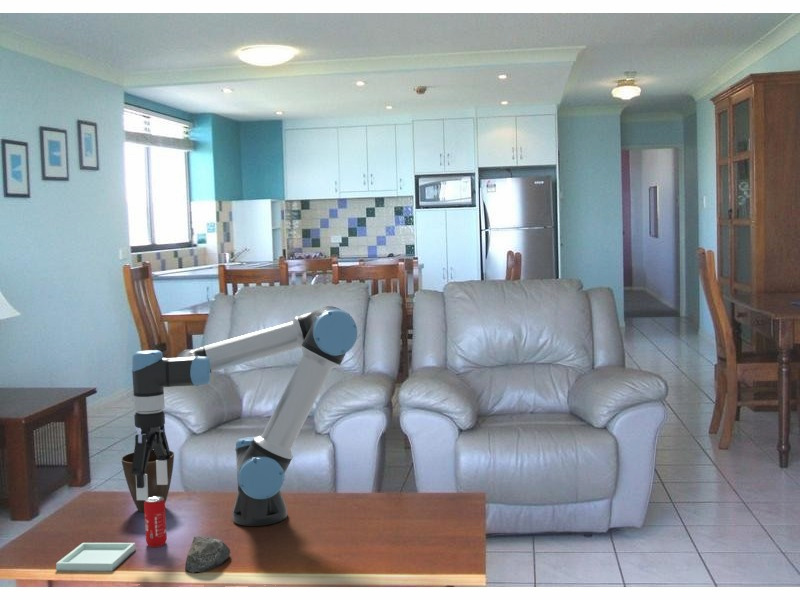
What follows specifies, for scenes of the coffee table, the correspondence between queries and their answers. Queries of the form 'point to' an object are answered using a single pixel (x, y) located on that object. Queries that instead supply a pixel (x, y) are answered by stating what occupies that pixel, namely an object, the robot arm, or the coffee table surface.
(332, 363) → the robot arm
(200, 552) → the rock
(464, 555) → the coffee table surface
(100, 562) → the tray
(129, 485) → the plant pot
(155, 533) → the beverage can
